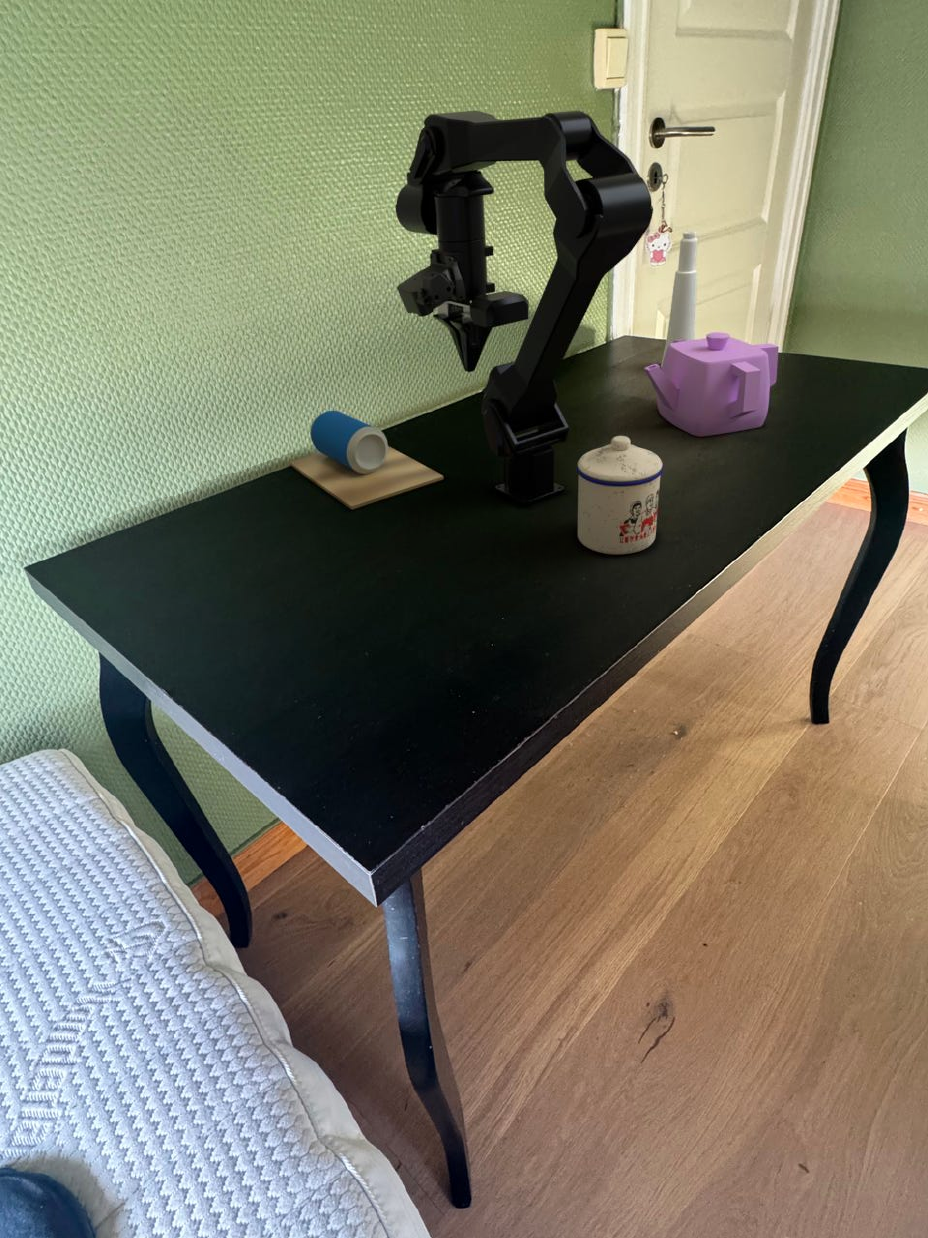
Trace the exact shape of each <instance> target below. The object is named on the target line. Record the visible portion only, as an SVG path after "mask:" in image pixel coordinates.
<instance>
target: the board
mask: <svg viewBox="0 0 928 1238" xmlns="http://www.w3.org/2000/svg"><path fill="white" fill-rule="evenodd" d="M288 464H289V466H290V467H292V468H293V470H296V471H297V472H298V473H300V474H301V475H302V476H304V477H305V478H306V479H308V480H310V481H311V482H312V483H313V484H315V485H317V487H319V488H321V489H322V490H323V491H324V492H326V493H328V494H329V495H330V496H332V497H333V498H335V499H336V500H338V501H339V502H340V503H342V504H343V505H345V506H346V507H347V508H348V509H350V510H355V509H359V508H361V507H364V506H367V505H370V504H373V503H376V502H377V503H378V502H379V501H383V500H387V499H388V498H392V497H395V496H397V495H401V494H403V493H406V492H409V491H412V490H415V489H418V488H421V487H425V486H428V485H431V484H434V483H437V482H440V481H442V480H444V479H445V478H444V475H442V474H440V473H439V472H437V471H435V470H434V469H432V468H430V467H427V466H426V465H424V464H422V463H420V462H419V461H417V460H415V459H414V458H411V457H410V456H408V455H406V454H404V453H402V452H400V451H398V450H396V449H395V448H393V447H391V446H389V445H388V451H387V456H386V458H385V461H384V462H383V464H382V465H381V466H380V467H379V468H378V469H377V470H376V471H374V472H372V473H368V474H362V473H358V472H356V471H354V470H352V469H351V468H349V467H347V466H345V465H343V464H341V463H339V462H337V461H335V460H334V459H332V458H330V457H328V456H326V455H324V454H322V453H321V452H319V453H316V454H315V453H314V454H312V455H309V456H306V457H301V458H298V459H295V460H291V461H289V462H288Z"/></svg>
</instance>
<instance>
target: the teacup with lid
mask: <svg viewBox="0 0 928 1238" xmlns="http://www.w3.org/2000/svg"><path fill="white" fill-rule="evenodd" d="M576 472H577V474H578V488H577V491H578V493H577V538H578V540H579V542H580V543H581V544H582V545H583V546H584V547H586V548H587V549H589V550H592V551H594V552H597V553H599V554H600V553H601V554H605V555H617V556H618V555H630V554H635V553H638V552H641V551H644V550H645V549H648V548H649V547H650V546H652V544H653V543H654V541H655V540H656V535H657V534H656V533H657V524H658V523H657V522H658V511H659V498H660V485H661V476H662V474H663V473H664V464H663V461H662V459H661V458H660V456H659V455H657V454H656V453H655V452H653V451H651V450H649V449H646V448H642V447H638V446H636V445H635V444H631V439H630V438H629V437H628V436H625V435H616V436H614V437H613V438H611V441H610V444H606V445H604V446H602V447H598V448H594V449H592V450H591V449H590V451H587V452H585V453H584V454H583V455H582V456H580V458H579V460H578V461H577V464H576Z"/></svg>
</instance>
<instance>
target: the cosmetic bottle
mask: <svg viewBox="0 0 928 1238" xmlns="http://www.w3.org/2000/svg"><path fill="white" fill-rule="evenodd" d="M697 233H698V232H696V231H684V232H682V238H681V239H680V241H679V242H680V243H679V254H678V265H677V266H678V267H677V270H675V273H674V279H673V287H672V295H671V304H670V310H669V311H670V313H669V320H668V327H667V335H666V340H665V346H664V351H663V356H662V360H661V364H660V368H661V369H662V365H663V361H664V358H665V354H666V351H667V348H668V345H669V344H671V343H673V340H680V339H684V340H687V341H689V340H695V334H696V333H695V332H696V331H695V330H696V329H695V328H696V307H697V289H698V288H697V287H698V270H697V269H696V265H697V263H696V262H697V255H698V254H697V252H698V241H699V240H698V238H697V235H698V234H697Z"/></svg>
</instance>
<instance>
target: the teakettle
mask: <svg viewBox="0 0 928 1238" xmlns="http://www.w3.org/2000/svg"><path fill="white" fill-rule="evenodd" d="M779 351H780V350H779V346H778V345H775V344H773V343H760V344H751V343H748V342H746V341H743V340H740V339H738V338H735V337H732V336H731V335H730V334H729V333H728V332H723V331H713V332H709V333H707V334H705V338H696V339H694V340H689V341H687V340H684V339H680V340H673V343H671V344H669V345H668V348H667V351H666V354H665V358H664V361H663V365H662V368H661V365H659V364H657V363H653V364H650V365H647V366H646V367H643V370H644V372H645V373H646V375H647V377H648V379H649V381H650V383H651V385H652V387H653V388H654V391H655V392H656V404H657V410H658V412H659V414H660V415H661V416H662V417H663V418H664V419H665V420H666V421H668V422H669V423H670V424H671V425H673V426H675V427H676V428H678V429H680V430H682V431H683V432H686V433H688V434H690V435H692V436H695V437H699V438H700V437H703V438H704V437H711V436H717V435H723V434H731V433H735V432H736V433H738V432H742V431H747V430H748V431H749V430H753V429H757V428H761V427H762V426H763V425H764V422H765V420H766V417H767V415H768V413H769V404H770V392H771V391H770V389H771V387H772V386H774V385H775V384H776V383H777V377H778V366H779V365H778V363H779Z"/></svg>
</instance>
